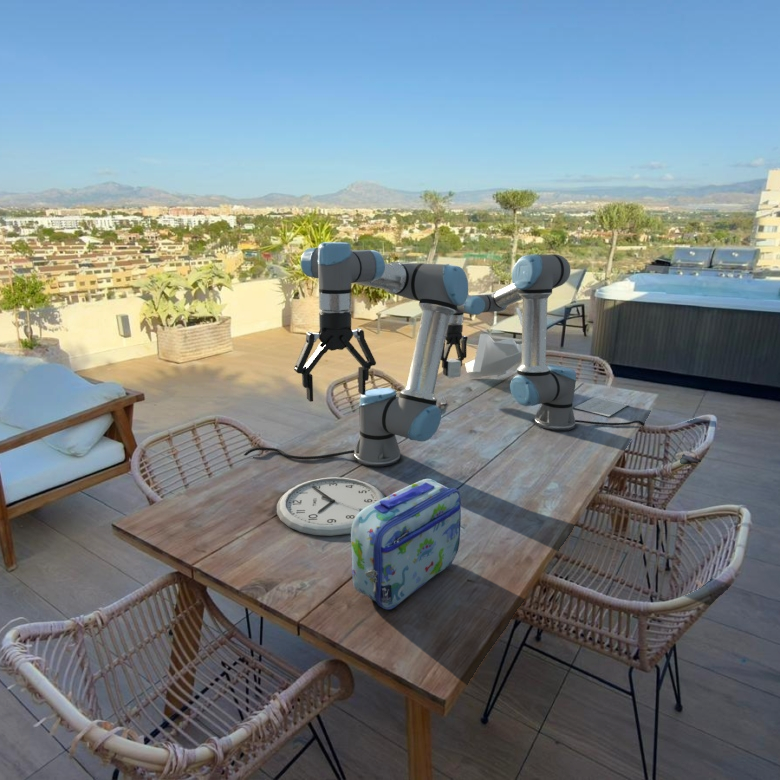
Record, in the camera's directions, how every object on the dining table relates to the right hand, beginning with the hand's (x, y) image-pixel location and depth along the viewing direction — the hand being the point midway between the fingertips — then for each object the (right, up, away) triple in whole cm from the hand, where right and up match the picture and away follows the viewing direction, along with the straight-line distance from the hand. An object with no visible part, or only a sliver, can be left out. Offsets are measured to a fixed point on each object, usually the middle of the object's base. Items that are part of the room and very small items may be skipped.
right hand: (451, 374), depth 237 cm
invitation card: (+64, -15, -11) cm, 66 cm away
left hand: (-41, -9, -108) cm, 116 cm away
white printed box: (0, -1, 0) cm, 1 cm away
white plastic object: (+28, -5, +19) cm, 34 cm away
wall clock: (-44, -39, -94) cm, 111 cm away
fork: (-7, -15, -15) cm, 21 cm away
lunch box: (-24, -49, -124) cm, 135 cm away
